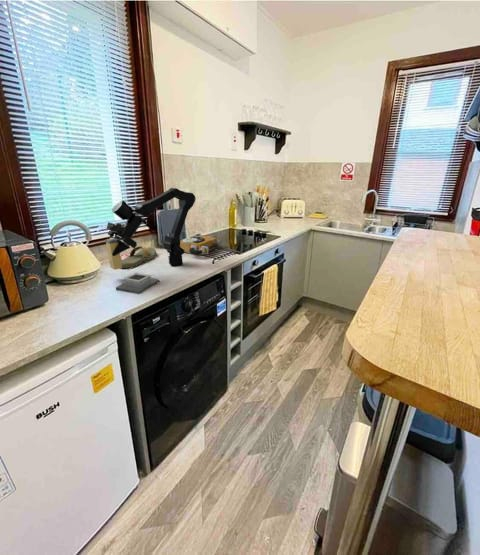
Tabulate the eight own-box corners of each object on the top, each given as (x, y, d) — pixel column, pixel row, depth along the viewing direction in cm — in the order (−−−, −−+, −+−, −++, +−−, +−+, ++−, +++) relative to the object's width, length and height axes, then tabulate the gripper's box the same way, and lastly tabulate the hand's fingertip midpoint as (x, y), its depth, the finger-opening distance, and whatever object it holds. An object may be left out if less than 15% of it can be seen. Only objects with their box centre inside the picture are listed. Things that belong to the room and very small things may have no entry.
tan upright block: (118, 265, 128) (113, 236, 123) (122, 267, 125) (117, 238, 120) (110, 267, 126) (104, 237, 120) (114, 269, 123) (108, 239, 117)
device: (227, 235, 177) (200, 246, 152) (227, 248, 180) (201, 260, 155) (198, 232, 186) (169, 241, 162) (199, 244, 190) (170, 255, 165)
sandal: (162, 254, 166) (161, 241, 163) (132, 270, 139) (129, 255, 136) (145, 253, 169) (143, 240, 166) (112, 268, 142) (109, 254, 139)
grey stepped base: (137, 278, 129) (136, 270, 127) (159, 281, 125) (158, 273, 124) (116, 289, 117) (114, 281, 115) (139, 293, 113) (138, 284, 111)
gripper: (108, 212, 125) (87, 240, 122) (125, 217, 113) (103, 248, 110) (127, 227, 133) (108, 253, 130) (145, 233, 121) (125, 262, 118)
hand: (110, 254), depth 122 cm, fingers closed on tan upright block, 4 cm apart
